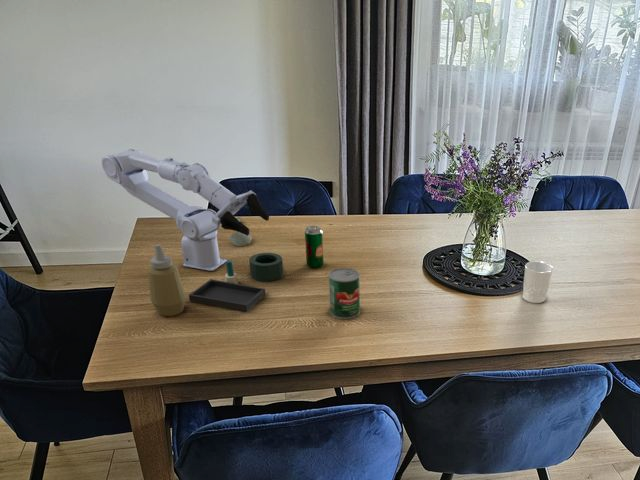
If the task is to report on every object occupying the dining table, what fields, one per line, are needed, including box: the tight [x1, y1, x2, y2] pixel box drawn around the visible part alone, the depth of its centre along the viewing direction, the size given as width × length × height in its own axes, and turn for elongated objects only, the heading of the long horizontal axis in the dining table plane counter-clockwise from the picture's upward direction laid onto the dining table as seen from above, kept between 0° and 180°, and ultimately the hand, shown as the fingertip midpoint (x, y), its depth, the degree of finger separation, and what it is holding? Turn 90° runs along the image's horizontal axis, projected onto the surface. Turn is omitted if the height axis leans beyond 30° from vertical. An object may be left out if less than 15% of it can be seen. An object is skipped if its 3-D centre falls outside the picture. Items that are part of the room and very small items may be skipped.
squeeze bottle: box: [147, 243, 187, 317], centre depth 150 cm, size 8×8×18 cm
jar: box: [248, 252, 284, 283], centre depth 176 cm, size 9×9×5 cm
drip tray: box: [188, 278, 267, 313], centre depth 163 cm, size 16×10×2 cm, turn 78°
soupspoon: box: [229, 216, 252, 247], centre depth 200 cm, size 22×3×7 cm
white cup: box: [522, 260, 554, 304], centre depth 176 cm, size 8×8×10 cm
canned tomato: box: [328, 267, 361, 320], centre depth 159 cm, size 8×8×11 cm
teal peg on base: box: [224, 259, 239, 284], centre depth 168 cm, size 3×3×7 cm
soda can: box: [304, 225, 325, 269], centre depth 182 cm, size 5×5×12 cm
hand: (258, 225), depth 165 cm, fingers open, 7 cm apart
